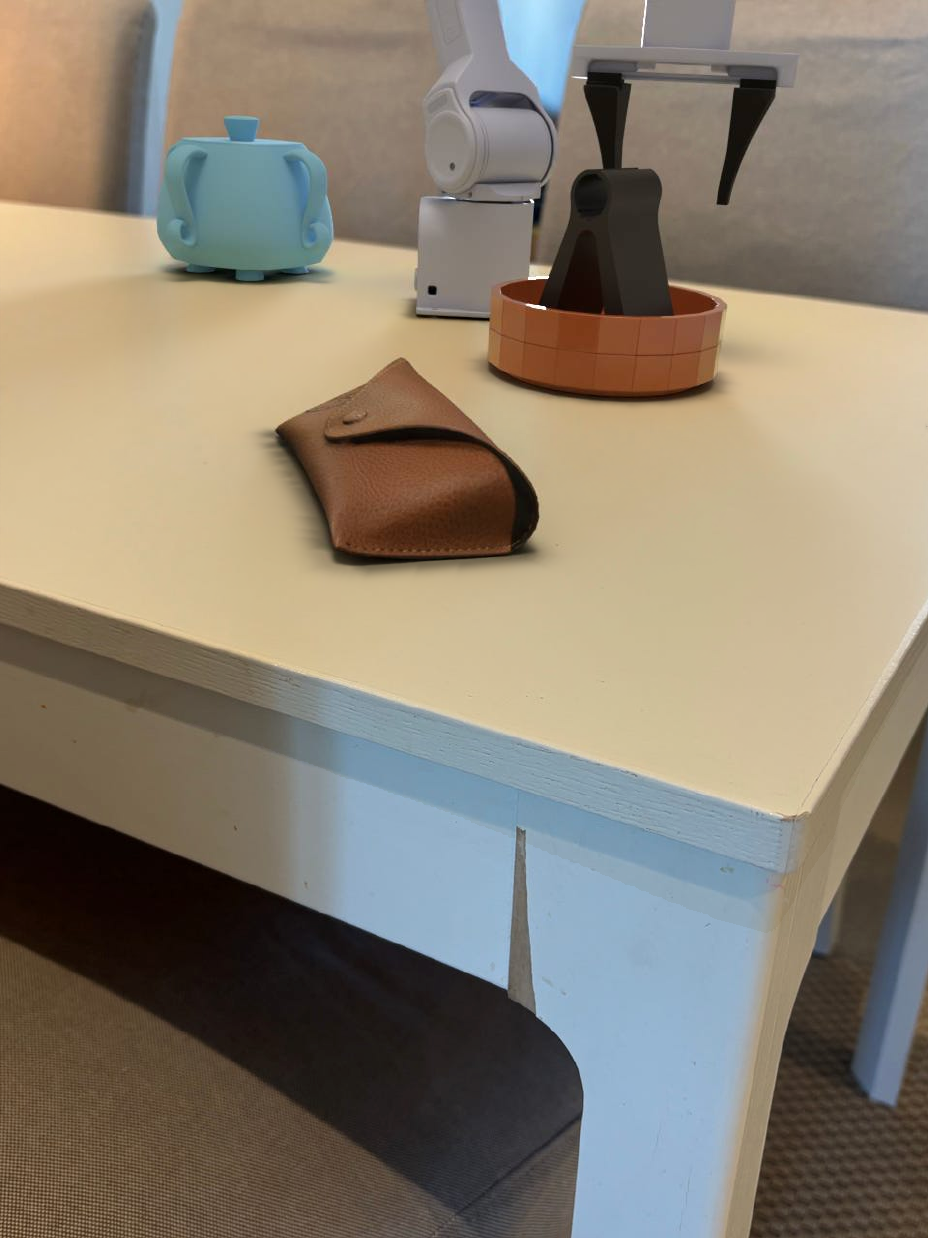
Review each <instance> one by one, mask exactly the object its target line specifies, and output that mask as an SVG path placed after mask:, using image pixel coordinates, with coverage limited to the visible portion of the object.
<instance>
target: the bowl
mask: <svg viewBox="0 0 928 1238" xmlns="http://www.w3.org/2000/svg"><path fill="white" fill-rule="evenodd" d="M547 279H548V276H536V277H529V278H522V279H516V280H510V281H504V282H501V283H499V284H497V285H494V286H492V287H491V304H490V318H489V324H488V342H487V343H488V344H487V361H488V362H489V363H490V364H492V365H493V366H494V367H495V368H497V369H498V370H500V371H501V372H505V373H507V375H509V376H511V377H513V378H514V379H517V380H519V381H522V382H524V383H527V384H529V385H533V386H537V387H540V388H545V389H549V390H554V391H560V392H565V393H572V394H579V395H589V396H599V397H619V398H620V397H621V398H623V397H624V398H628V397H630V398H637V397H655V396H656V397H657V396H664V395H672V394H677V393H681V392H684V391H687V390H690V389H692V388H693V387H694V388H695V387H698V386H700V385H702V384H703V385H704V384H705V383H708V382H711V381H713V380H714V378H715V376H717V374H718V370H719V365H720V357H721V350H722V345H723V337H724V329H725V324H726V317H727V311H728V304H727V303H726V302H725V301H724V300H723V299H722V298H721V297H718V296H716V295H713V294H710V293H708V292H704V291H702V290H697V289H693V288H689V287H684V286H679V285H674V284H669V290H670V296H671V302H672V307H673V313H674V316H618V315H605V313H604V307H603V310H602V313H601V315H600V314H590V313H581V312H572V311H563V310H557V309H551V308H545V307H540V306H538V303H539V300H540V298H541V295H542V292H543V290H544V287H545V284H546V282H547Z"/></svg>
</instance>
